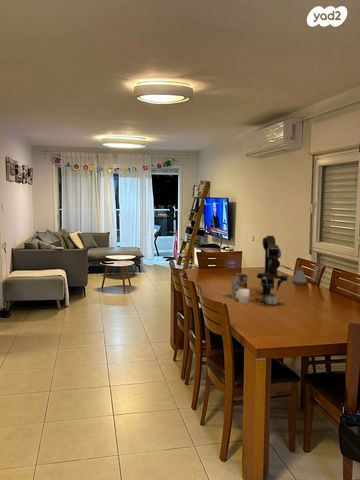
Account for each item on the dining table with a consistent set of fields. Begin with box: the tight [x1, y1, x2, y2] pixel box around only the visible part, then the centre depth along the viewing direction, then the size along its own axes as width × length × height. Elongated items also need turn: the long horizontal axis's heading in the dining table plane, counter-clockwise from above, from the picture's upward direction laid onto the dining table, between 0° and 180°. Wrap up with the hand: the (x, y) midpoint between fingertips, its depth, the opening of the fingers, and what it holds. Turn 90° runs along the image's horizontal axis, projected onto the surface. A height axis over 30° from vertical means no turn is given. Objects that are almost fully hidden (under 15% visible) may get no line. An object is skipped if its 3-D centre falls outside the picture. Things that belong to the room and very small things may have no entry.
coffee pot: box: [279, 264, 308, 286], centre depth 330 cm, size 21×12×15 cm, turn 88°
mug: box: [236, 288, 250, 304], centre depth 272 cm, size 7×9×8 cm
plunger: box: [269, 284, 276, 297], centre depth 265 cm, size 5×5×8 cm
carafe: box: [262, 294, 279, 306], centre depth 266 cm, size 7×10×5 cm
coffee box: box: [230, 273, 248, 300], centre depth 281 cm, size 9×6×16 cm
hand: (272, 289), depth 265 cm, fingers open, 7 cm apart
